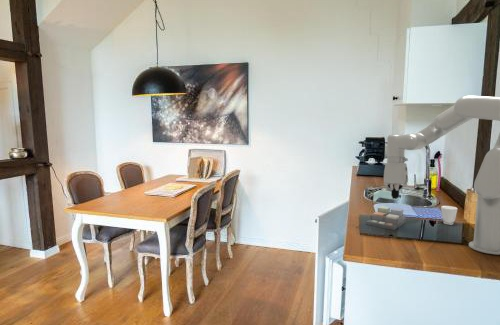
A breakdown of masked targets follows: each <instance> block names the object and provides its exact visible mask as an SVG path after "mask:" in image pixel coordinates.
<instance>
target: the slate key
mask: <svg viewBox="0 0 500 325" xmlns="http://www.w3.org/2000/svg"><path fill="white" fill-rule="evenodd" d="M390 212H391V213H390V214H392V215H398V216H399V217H401V216H403V214H404V209H403V208H396V207H393V208H390Z"/></svg>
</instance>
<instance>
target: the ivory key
mask: <svg viewBox="0 0 500 325" xmlns="http://www.w3.org/2000/svg"><path fill="white" fill-rule="evenodd" d="M386 218H391V219H398V218H399V216H398V215H392V214H389V215H387V216H386Z"/></svg>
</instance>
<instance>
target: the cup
mask: <svg viewBox="0 0 500 325" xmlns="http://www.w3.org/2000/svg"><path fill="white" fill-rule="evenodd" d="M440 209H441V217H442V221H443V222H442V223H443V224H444V225H451V226H452V225H454V222H455V221H456V218H457V214H458V213H457V212H458V208H457V207H456V206H451V205H441V207H440Z"/></svg>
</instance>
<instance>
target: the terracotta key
mask: <svg viewBox="0 0 500 325" xmlns="http://www.w3.org/2000/svg"><path fill="white" fill-rule="evenodd" d="M372 214H373V215H374V216H380V217H384V216H386V213H381V212H378V211H375V212H373V213H372Z"/></svg>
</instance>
